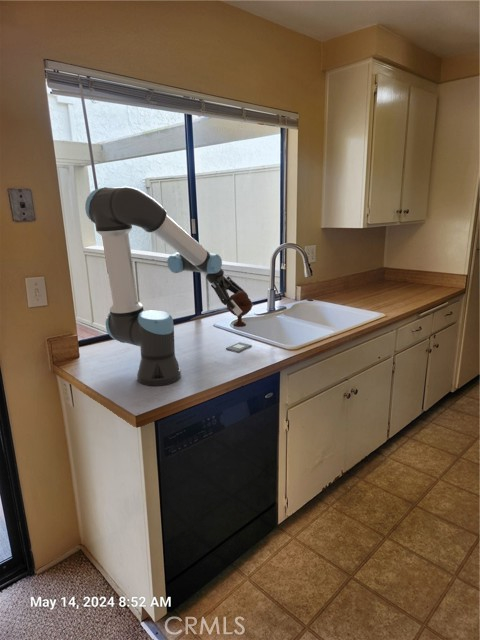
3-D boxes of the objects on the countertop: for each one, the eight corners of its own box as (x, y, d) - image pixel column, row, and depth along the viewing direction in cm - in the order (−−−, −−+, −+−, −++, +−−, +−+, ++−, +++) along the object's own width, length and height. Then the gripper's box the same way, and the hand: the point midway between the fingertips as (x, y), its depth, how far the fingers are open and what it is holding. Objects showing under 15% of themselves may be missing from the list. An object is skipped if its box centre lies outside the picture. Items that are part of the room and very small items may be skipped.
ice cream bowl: (254, 322, 177) (255, 288, 173) (248, 329, 167) (248, 293, 163) (231, 320, 180) (231, 287, 176) (223, 327, 170) (223, 292, 166)
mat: (238, 352, 170) (238, 350, 170) (226, 349, 174) (225, 347, 174) (251, 346, 177) (251, 344, 177) (239, 343, 181) (239, 342, 181)
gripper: (218, 273, 185) (250, 309, 183) (192, 281, 164) (228, 323, 162) (229, 261, 181) (261, 299, 179) (203, 269, 161) (240, 311, 159)
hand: (245, 310), depth 171 cm, fingers closed on ice cream bowl, 11 cm apart
